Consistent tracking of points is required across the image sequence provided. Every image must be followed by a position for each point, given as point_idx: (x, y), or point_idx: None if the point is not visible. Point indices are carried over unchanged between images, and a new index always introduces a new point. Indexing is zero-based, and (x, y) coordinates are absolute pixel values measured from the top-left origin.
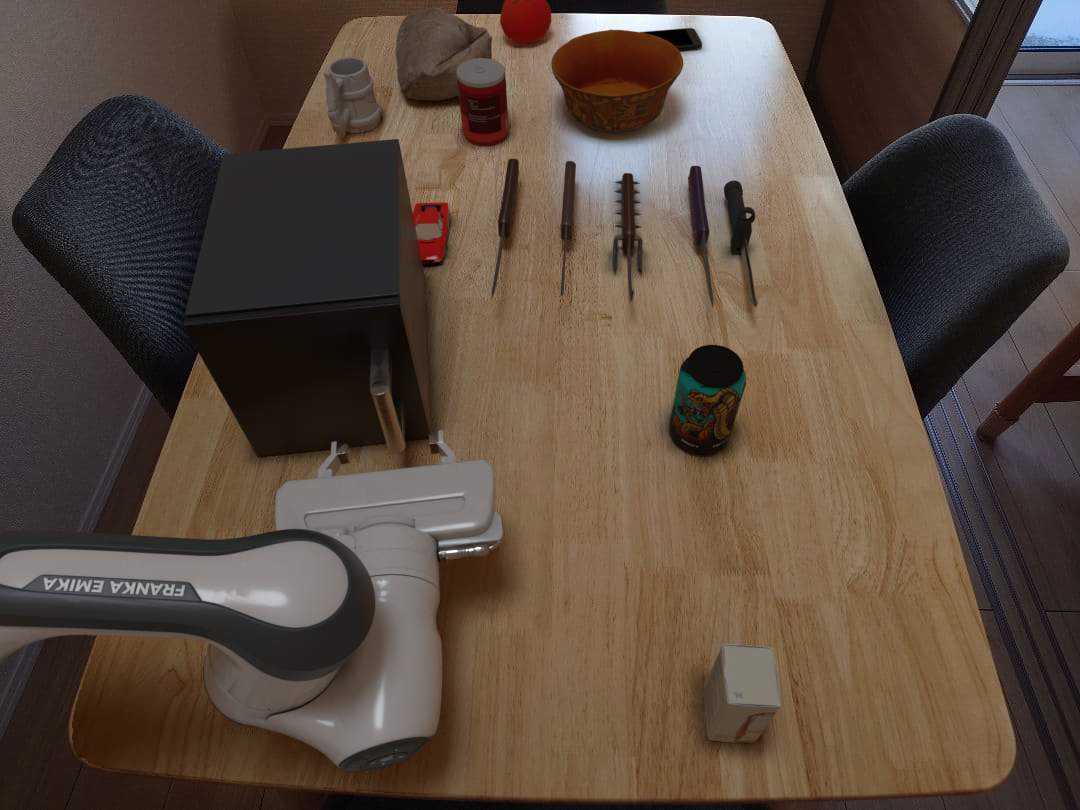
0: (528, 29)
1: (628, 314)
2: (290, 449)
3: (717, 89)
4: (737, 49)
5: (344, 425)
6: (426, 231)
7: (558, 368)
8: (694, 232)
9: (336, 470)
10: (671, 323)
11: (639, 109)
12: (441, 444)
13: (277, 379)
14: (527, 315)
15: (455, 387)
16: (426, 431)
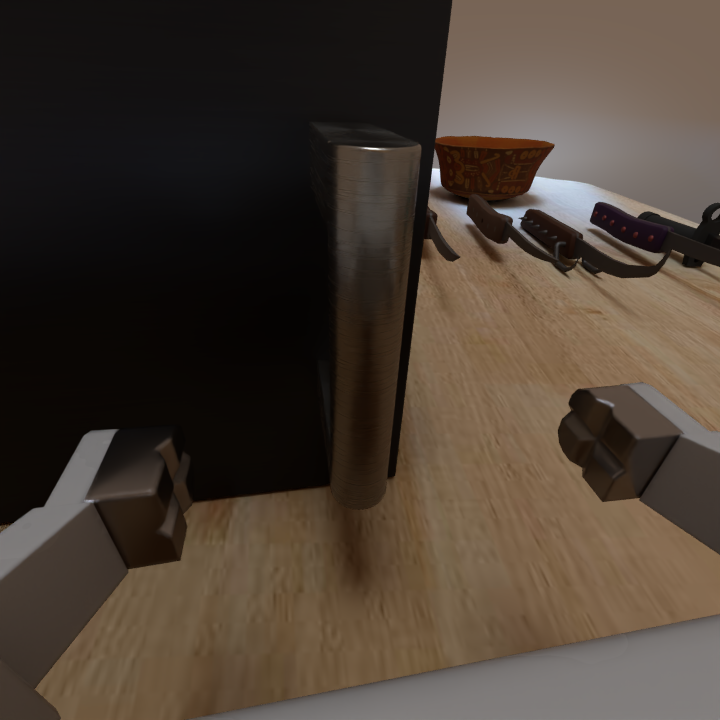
0: None
1: (620, 309)
2: None
3: (556, 192)
4: (553, 180)
5: (196, 436)
6: None
7: (573, 364)
8: (650, 236)
9: (79, 619)
10: (687, 318)
11: (521, 172)
12: (712, 439)
13: None
14: (484, 308)
15: (414, 388)
16: (390, 459)
